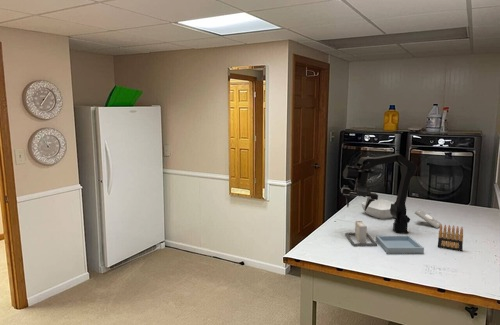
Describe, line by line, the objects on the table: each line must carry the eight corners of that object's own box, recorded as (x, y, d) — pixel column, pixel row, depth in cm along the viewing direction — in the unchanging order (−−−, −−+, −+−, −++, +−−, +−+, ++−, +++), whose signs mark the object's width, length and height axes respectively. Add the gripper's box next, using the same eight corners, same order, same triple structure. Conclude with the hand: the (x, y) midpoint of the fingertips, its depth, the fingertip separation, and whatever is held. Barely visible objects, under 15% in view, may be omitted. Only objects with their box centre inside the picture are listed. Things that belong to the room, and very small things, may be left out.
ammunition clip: (462, 250, 179) (464, 226, 178) (462, 251, 178) (464, 227, 176) (437, 246, 185) (439, 222, 183) (437, 247, 183) (438, 223, 182)
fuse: (361, 237, 199) (361, 221, 197) (366, 243, 190) (366, 226, 188) (355, 237, 199) (355, 221, 197) (359, 243, 190) (360, 226, 188)
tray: (409, 241, 192) (409, 235, 192) (423, 254, 175) (423, 247, 175) (375, 241, 192) (376, 235, 192) (387, 254, 176) (387, 247, 175)
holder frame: (367, 234, 202) (367, 232, 202) (377, 246, 186) (377, 244, 185) (345, 234, 203) (345, 232, 202) (353, 246, 186) (353, 244, 186)
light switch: (439, 226, 211) (416, 210, 218) (433, 233, 213) (410, 218, 220) (442, 222, 218) (420, 207, 224) (436, 230, 220) (414, 215, 227)
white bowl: (380, 221, 226) (380, 209, 225) (358, 213, 244) (358, 202, 243) (405, 217, 234) (406, 205, 233) (382, 209, 253) (382, 198, 251)
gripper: (346, 179, 193) (340, 208, 195) (382, 186, 191) (376, 215, 192) (343, 176, 204) (338, 204, 206) (378, 183, 202) (372, 211, 203)
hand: (356, 208), depth 202 cm, fingers open, 9 cm apart
